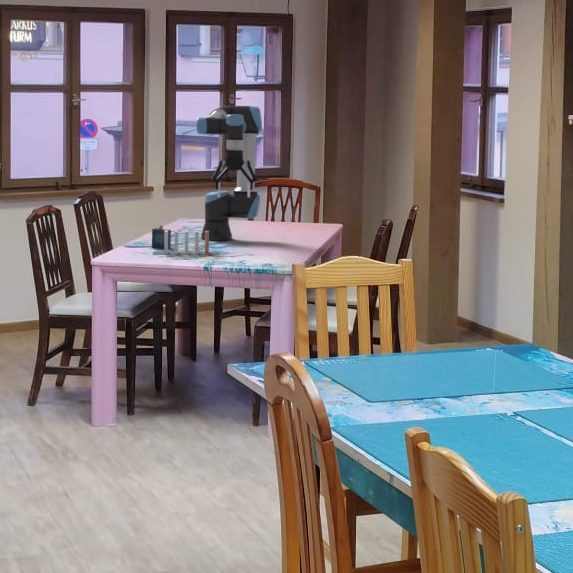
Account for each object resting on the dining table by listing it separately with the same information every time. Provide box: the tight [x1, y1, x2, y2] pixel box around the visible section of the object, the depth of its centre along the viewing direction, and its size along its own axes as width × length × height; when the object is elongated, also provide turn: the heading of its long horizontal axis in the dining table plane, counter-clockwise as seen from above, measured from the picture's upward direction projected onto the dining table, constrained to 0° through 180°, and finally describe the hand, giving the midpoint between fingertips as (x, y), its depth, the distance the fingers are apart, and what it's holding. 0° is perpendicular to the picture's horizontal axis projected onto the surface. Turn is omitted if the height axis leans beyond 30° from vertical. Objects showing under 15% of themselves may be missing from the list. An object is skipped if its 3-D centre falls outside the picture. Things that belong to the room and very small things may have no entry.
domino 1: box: [163, 230, 169, 254], centre depth 530 cm, size 2×5×10 cm, turn 6°
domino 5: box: [204, 231, 210, 256], centre depth 532 cm, size 2×5×10 cm, turn 6°
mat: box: [152, 251, 221, 256], centre depth 532 cm, size 30×10×1 cm, turn 96°
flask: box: [151, 225, 172, 250], centre depth 546 cm, size 9×3×11 cm, turn 74°
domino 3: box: [184, 230, 190, 254], centre depth 531 cm, size 2×5×10 cm, turn 6°
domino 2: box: [173, 229, 179, 254], centre depth 530 cm, size 2×5×10 cm, turn 6°
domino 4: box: [194, 230, 200, 254], centre depth 531 cm, size 2×5×10 cm, turn 6°
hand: (233, 197), depth 532 cm, fingers open, 13 cm apart
